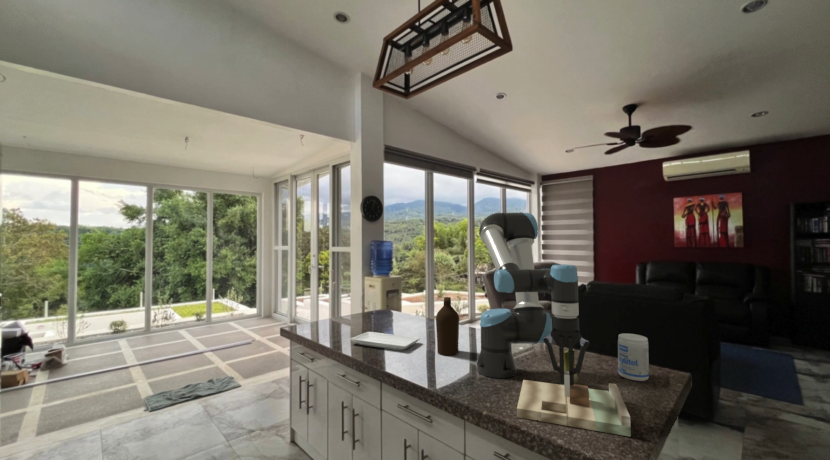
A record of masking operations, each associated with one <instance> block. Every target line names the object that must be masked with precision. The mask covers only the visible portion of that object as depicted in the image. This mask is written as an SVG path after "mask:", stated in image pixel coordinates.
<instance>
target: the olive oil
mask: <svg viewBox="0 0 830 460" xmlns="http://www.w3.org/2000/svg"><path fill="white" fill-rule="evenodd" d="M451 299H452V298H451V296H444V297H443V306H442V307H441V308H440V309H439V310H438V312H436V316H435V326H436V345H437V354H438V355H441V356H446V357H450V356H452V357H453V356H456V355H458V354H459V340H460V339H459V334H460V316H459V314H458V311H456V310H455V308H454V307H453V306H452V300H451Z"/></svg>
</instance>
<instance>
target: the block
mask: <svg viewBox="0 0 830 460" xmlns="http://www.w3.org/2000/svg"><path fill="white" fill-rule="evenodd" d="M588 388H589V387H588V385H582V384H574V385H570V404H574V405H580V406H587V407H589V391H588Z"/></svg>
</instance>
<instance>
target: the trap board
mask: <svg viewBox="0 0 830 460" xmlns="http://www.w3.org/2000/svg"><path fill="white" fill-rule="evenodd" d="M588 391H589V407H587V406H580V405H574V404H570V397H565V391H564V384H557V383H551V382H543V381H536V380H528V379H523V380H522V385H521V388H520V393H519V398H518V401H517V406H516V417H517V418H521V419H526V420H531V421H537V420H538V421H539V422H543V423H549V424H554V425H555V424H556V425H561V426H566V427H572V428H579V429H584V430H589V431H596V432H600V433H607V434H613V435H619V436H624V437H631V436H632V432H631V427H632V426H631V415H630V413H629V411H628V408H627V406H626V403H625V401H624V400H623V397H622V394H621V392H620V390H619V388H618V385H617V383H609V382H608V390H602V389H595V388H589V387H588Z"/></svg>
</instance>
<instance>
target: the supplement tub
mask: <svg viewBox="0 0 830 460" xmlns="http://www.w3.org/2000/svg"><path fill="white" fill-rule="evenodd" d="M649 362H650V361H649V339H648V337H646V336H644V335H641V334H635V333H620V334H618V339H617V363H618V364H617V369H618V374H619V375H620V376H621V377H622V378H624V379H627V380H631V381H638V382H645V381H647V380H648V379H649V377H650V368H649V366H650V365H649V364H650V363H649Z"/></svg>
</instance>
